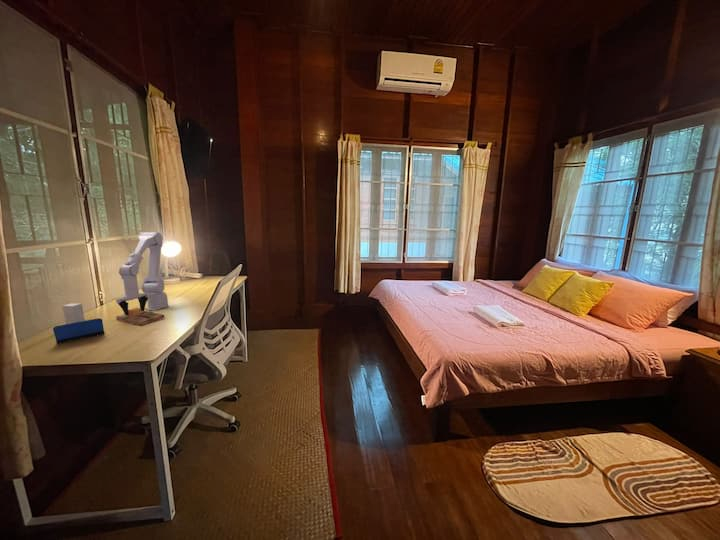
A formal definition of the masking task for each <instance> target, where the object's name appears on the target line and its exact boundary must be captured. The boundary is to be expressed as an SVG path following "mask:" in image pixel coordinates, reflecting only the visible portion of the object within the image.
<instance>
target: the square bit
mask: <svg viewBox="0 0 720 540" xmlns="http://www.w3.org/2000/svg"><path fill="white" fill-rule="evenodd" d="M128 312H129V316H131V317H133V316H137V315H141V308H140V307H133V308H128Z"/></svg>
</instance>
